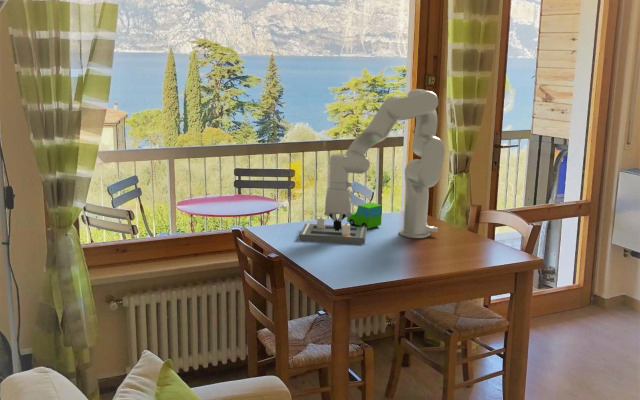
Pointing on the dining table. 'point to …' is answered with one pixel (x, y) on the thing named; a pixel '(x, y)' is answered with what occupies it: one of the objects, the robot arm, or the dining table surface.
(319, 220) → the tab
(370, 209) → the toy car
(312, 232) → the switch board
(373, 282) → the dining table surface
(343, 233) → the tab
